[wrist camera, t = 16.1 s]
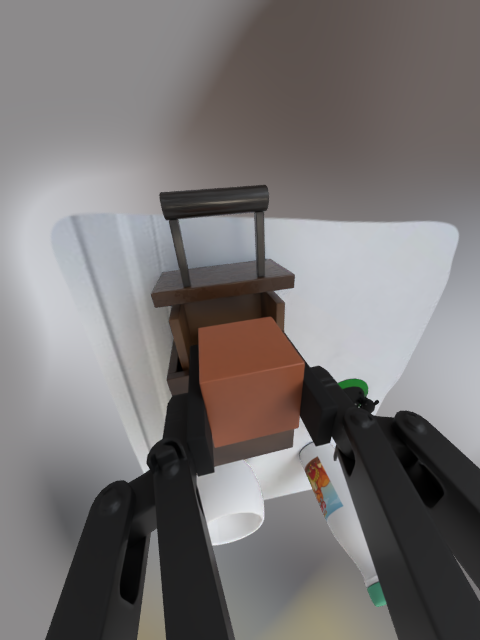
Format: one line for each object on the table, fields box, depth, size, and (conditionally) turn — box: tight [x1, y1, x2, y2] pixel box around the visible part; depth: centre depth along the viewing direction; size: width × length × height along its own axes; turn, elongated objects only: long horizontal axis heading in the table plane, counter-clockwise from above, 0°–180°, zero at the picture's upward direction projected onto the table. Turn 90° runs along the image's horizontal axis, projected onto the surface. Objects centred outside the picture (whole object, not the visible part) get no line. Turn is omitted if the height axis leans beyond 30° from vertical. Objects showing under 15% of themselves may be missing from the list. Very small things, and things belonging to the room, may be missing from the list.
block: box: [198, 317, 305, 448], centre depth 13 cm, size 5×5×5 cm
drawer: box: [151, 185, 295, 371], centre depth 21 cm, size 21×11×6 cm, turn 4°
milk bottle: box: [300, 442, 386, 607], centre depth 36 cm, size 8×8×20 cm
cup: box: [197, 460, 264, 545], centre depth 36 cm, size 12×12×10 cm
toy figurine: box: [338, 379, 379, 413], centre depth 35 cm, size 10×10×6 cm
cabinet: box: [167, 340, 294, 467], centre depth 26 cm, size 16×13×8 cm
